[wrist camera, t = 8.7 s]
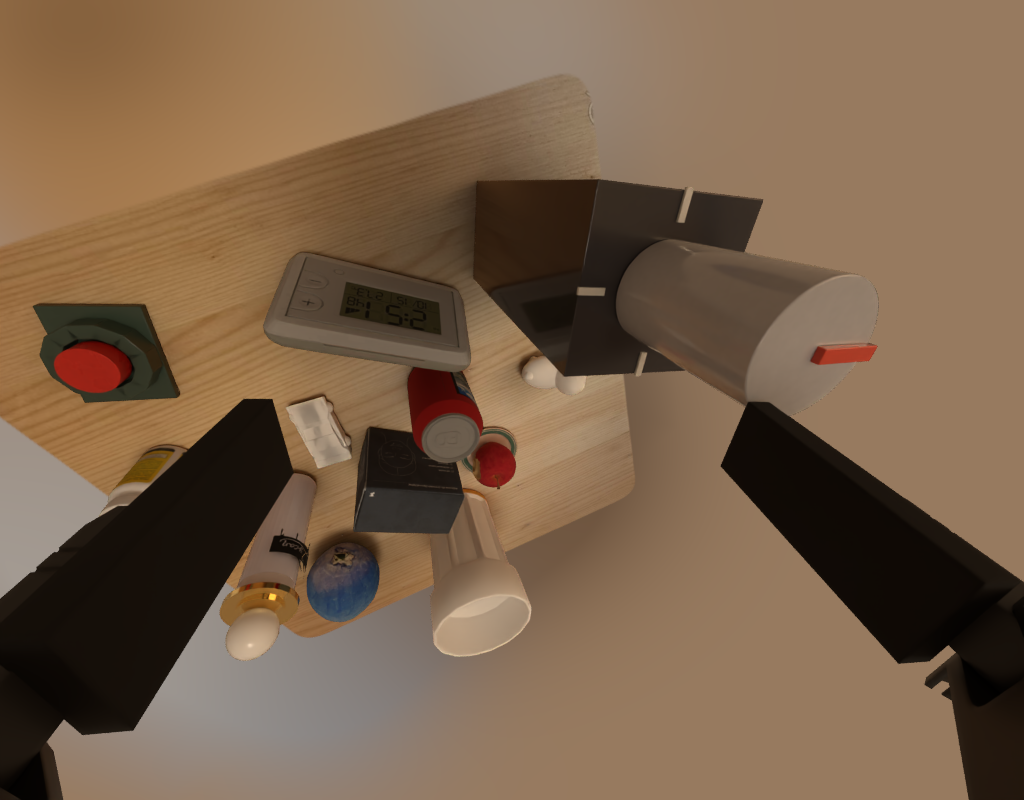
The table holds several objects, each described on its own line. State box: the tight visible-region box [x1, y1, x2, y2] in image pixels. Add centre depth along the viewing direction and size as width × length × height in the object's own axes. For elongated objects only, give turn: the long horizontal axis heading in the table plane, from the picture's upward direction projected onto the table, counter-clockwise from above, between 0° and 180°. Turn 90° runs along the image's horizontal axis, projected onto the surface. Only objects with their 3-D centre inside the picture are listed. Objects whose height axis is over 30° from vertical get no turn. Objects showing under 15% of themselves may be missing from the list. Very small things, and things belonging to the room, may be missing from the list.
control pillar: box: [473, 179, 763, 377], centre depth 28 cm, size 9×9×24 cm
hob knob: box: [616, 239, 879, 416], centre depth 15 cm, size 5×5×8 cm
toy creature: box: [522, 356, 586, 395], centre depth 45 cm, size 5×8×6 cm, turn 84°
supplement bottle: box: [99, 445, 188, 517], centre depth 36 cm, size 5×5×8 cm
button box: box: [33, 304, 180, 403], centre depth 32 cm, size 9×7×2 cm
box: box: [353, 428, 465, 534], centre depth 43 cm, size 11×7×10 cm, turn 68°
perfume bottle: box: [220, 473, 317, 661], centre depth 37 cm, size 6×6×20 cm
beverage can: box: [408, 367, 483, 463], centre depth 39 cm, size 7×7×12 cm
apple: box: [461, 428, 517, 489], centre depth 49 cm, size 8×8×6 cm
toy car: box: [286, 396, 352, 469], centre depth 42 cm, size 5×8×2 cm, turn 10°
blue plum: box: [307, 534, 379, 622], centre depth 49 cm, size 9×9×15 cm
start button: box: [54, 341, 132, 393], centre depth 31 cm, size 4×4×2 cm
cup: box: [430, 489, 532, 657], centre depth 48 cm, size 11×11×17 cm
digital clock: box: [263, 252, 471, 372], centre depth 33 cm, size 16×9×11 cm, turn 61°
